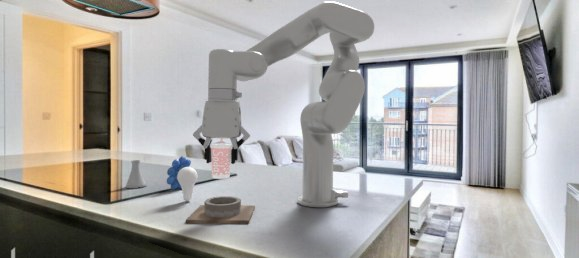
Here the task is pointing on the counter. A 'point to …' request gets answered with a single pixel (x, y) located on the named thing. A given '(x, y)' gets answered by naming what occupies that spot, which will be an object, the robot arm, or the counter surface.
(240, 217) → the coaster board
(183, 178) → the lightbulb
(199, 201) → the counter surface
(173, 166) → the grapes
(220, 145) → the beverage cup
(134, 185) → the flask
